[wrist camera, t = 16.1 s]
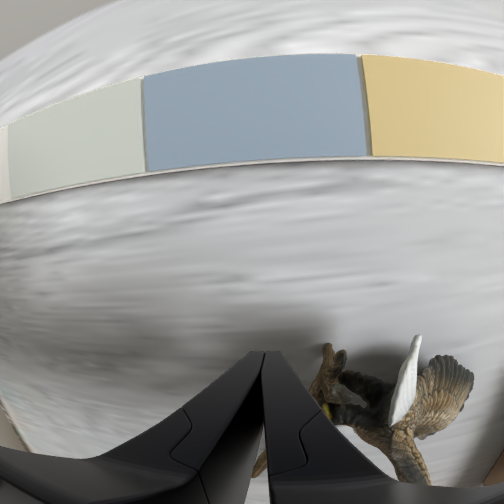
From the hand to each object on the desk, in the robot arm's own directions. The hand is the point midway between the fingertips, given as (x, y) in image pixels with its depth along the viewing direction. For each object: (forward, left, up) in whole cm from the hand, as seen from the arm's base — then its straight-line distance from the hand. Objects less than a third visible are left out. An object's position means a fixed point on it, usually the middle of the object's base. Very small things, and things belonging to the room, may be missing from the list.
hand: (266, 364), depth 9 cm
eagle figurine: (-4, -5, -3) cm, 7 cm away
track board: (+7, 0, -3) cm, 8 cm away
